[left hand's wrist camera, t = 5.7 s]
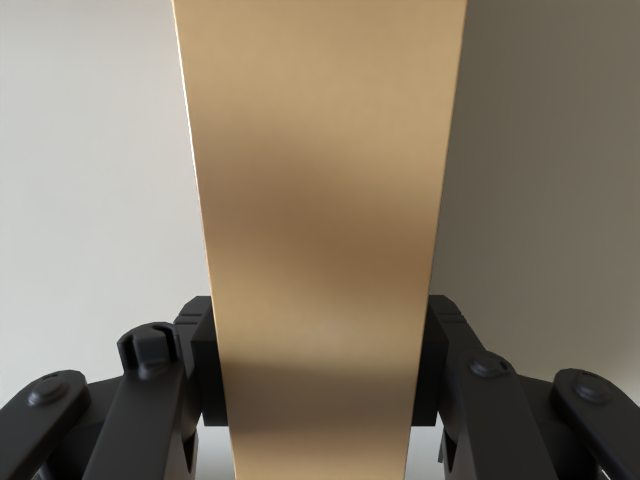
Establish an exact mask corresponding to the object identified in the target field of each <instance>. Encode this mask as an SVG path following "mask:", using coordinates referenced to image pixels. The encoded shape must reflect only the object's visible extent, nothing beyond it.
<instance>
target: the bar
mask: <svg viewBox="0 0 640 480" xmlns="http://www.w3.org/2000/svg"><path fill="white" fill-rule="evenodd" d="M467 6H468V0H172V7H173V14H174V22H175V29H176V37H177V44H178V52H179V59H180V67H181V74H182V82H183V89H184V96H185V104H186V111H187V119H188V126H189V134H190V141H191V149H192V156H193V164H194V171H195V178H196V186H197V193H198V201H199V208H200V216H201V223H202V231H203V238H204V246H205V253H206V260H207V268H208V275H209V283H210V290H211V298H212V305H213V313H214V320H215V328H216V335H217V342H218V350H219V357H220V365H221V372H222V380H223V387H224V395H225V402H226V410H227V417H228V424H229V432H230V439H231V447H232V454H233V462H234V469H235V477H236V480H404V476H405V469H406V461H407V454H408V446H409V439H410V432H411V424H412V417H413V409H414V402H415V394H416V387H417V379H418V372H419V364H420V357H421V349H422V342H423V334H424V327H425V319H426V312H427V305H428V297H429V290H430V282H431V275H432V267H433V260H434V252H435V245H436V237H437V230H438V222H439V215H440V207H441V200H442V192H443V185H444V178H445V170H446V163H447V155H448V148H449V140H450V133H451V125H452V118H453V110H454V103H455V95H456V88H457V80H458V73H459V65H460V58H461V51H462V43H463V36H464V28H465V21H466V13H467Z"/></svg>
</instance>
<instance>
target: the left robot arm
mask: <svg viewBox="0 0 640 480" xmlns="http://www.w3.org/2000/svg"><path fill="white" fill-rule="evenodd" d="M117 347H118V350H119V354H120V358H121V362H122V365H123V369H124V374H123V376H119V377H116V378H112V379H108V380H103V381H99V382H94V383H90V384H87V382H86V379H85V376H84V375H83V374H82V373H81V372H80V371H74V370H64V371H57V372H54V373H51V374H48V375H45V376H43V377H41V378H39V379H37V380H35V381H33V382H31V383H30V384H28V385H27V386H26V387H25V388H23V389H22V390H21V391H19V392H18V393H17V394H16V395H15V396H14V397H13V398H12V399H11V400H10V401H9V402H8V403H7V404H6V405H5V406H4V407H3V408H2V409H1V410H0V480H31V479H32V478H33V476H34V475H35V474H36V472H37V471H38V474H37V475H36V476H35V477H34V479H33V480H195V471H196V461H197V451H198V434H197V429H196V426H197V423H198V421H199V418H200V415H201V413H202V414H203V420H204V426H229V424H228V417H227V410H226V402H225V395H224V387H223V380H222V372H221V365H220V357H219V350H218V342H217V335H216V328H215V320H214V313H213V305H212V298H211V296H196V297H195V298H193V299H192V300H191V301H189V302H188V303H187V304H185V305H184V307H183V308H182V310H181V312H180V313H179V316H177V318H176V319H175V321H174V322H173V324H171V323H167V322H153V323H148V324H144V325H141V326H138V327H136V328H134V329H131V330H130V331H129V332H127V333H126V334H124V335H123V336H122V337H121V338H120V339H119V341H118V342H117ZM438 412H439V414H440V417H441V420H442V422H443V425H444V429H443V434H442V440H441V445H440V451H439V457H438V462H440V463H442V462H443V460H444V470H445V480H609V479H608V478H607V477H606V476H605V474H604V473H603V472H602V469H603V470H604V471H605V473H606V474H607V475H608V477H609V478H610V479H611V480H640V408H639V407H638V406H637V405H636V404H635V403H634V402H633V401H632V400H631V399H630V398H629V397H628V396H627V395H626V394H625V393H624V392H623V391H622V390H620V389H619V388H618V387H617V386H615V385H614V384H613V383H611V382H610V381H608V380H606V379H604V378H602V377H601V376H599V375H597V374H594V373H591V372H588V371H585V370H581V369H572V368H569V369H563V370H560V371H559V372H558V373H557V374H556V375H555V378H554V381H553V383H552V382H548V381H543V380H539V379H534V378H530V377H526V376H522V375H519V374H517V373H516V371H515V370H514V368H513V367H512V365H511V364H510V363H509V362H508V361H506V360H505V359H504V358H503V357H501V356H499V355H497V354H495V353H493V352H490V351H486V350H485V348H484V347H483V345H482V344H481V342H480V341H479V339H478V338H477V336H476V335H475V333H474V332H473V330H472V329H471V327H470V326H469V324H468V323H467V321H466V320H465V318H464V316H463V315H461V312H460V310H459V309H458V307H457V306H456V304H455V303H454V302H452V301H451V300H449V299H448V298H447V297H445V296H444V295H429V297H428V305H427V312H426V319H425V327H424V334H423V342H422V349H421V357H420V364H419V372H418V379H417V387H416V394H415V402H414V409H413V417H412V424H411V426H435V424H436V418H437V413H438Z"/></svg>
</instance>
